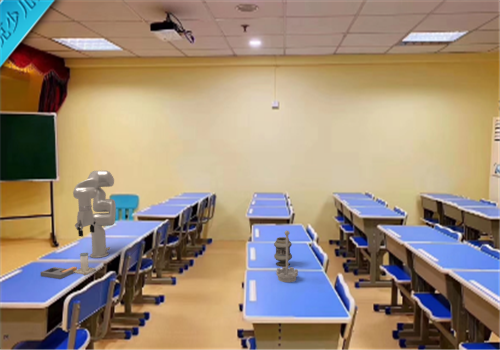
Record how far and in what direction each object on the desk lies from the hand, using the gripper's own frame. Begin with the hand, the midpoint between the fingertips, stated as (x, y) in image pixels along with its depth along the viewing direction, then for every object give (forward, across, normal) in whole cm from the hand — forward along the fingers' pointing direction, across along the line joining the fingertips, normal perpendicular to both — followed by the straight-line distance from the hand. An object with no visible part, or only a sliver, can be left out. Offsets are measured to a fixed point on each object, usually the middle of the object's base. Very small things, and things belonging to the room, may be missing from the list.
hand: (86, 234), depth 243 cm
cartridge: (+23, +4, +1) cm, 24 cm away
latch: (+24, +10, -7) cm, 26 cm away
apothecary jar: (+24, -52, +118) cm, 131 cm away
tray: (+24, +4, +1) cm, 24 cm away
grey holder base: (+24, +15, -11) cm, 30 cm away
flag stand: (+23, -27, +127) cm, 132 cm away
